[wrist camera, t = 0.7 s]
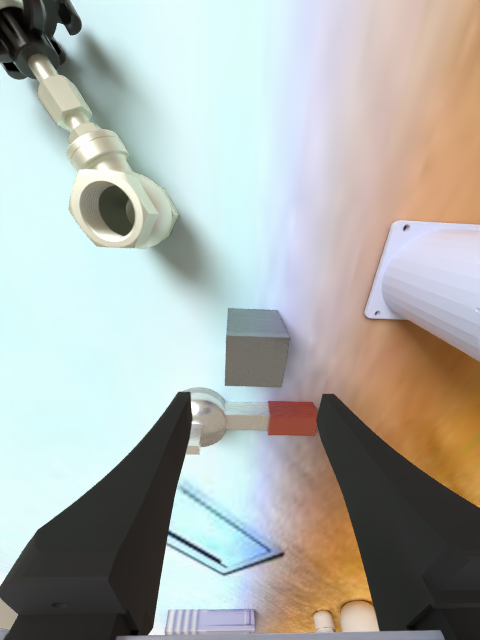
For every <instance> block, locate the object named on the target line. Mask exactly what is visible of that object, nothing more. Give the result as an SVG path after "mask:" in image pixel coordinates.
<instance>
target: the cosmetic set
mask: <svg viewBox="0 0 480 640" xmlns="http://www.w3.org/2000/svg"><path fill="white" fill-rule="evenodd" d="M314 623H315V628H316V632H336V631H335V627H334V623H333V619H332V615H331V614H330V612H328V611H325V610H322V611H317V612H315V614H314ZM340 623H341V628H342V632H373V631H379V627H378V623H377V618H376V614H375V610H374V607H373V606H372V605H371V604H369V603H368V602H365V601H361V600H357V601H351V602H348V603H346V604H345V605H344V606H343V608H342V610H341V613H340Z"/></svg>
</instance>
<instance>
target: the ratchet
mask: <svg viewBox="0 0 480 640" xmlns="http://www.w3.org/2000/svg"><path fill="white" fill-rule="evenodd" d="M183 392H191V404H192V417H193V420H192V427H191V433H190V439H189V443H188V447H187V450H186V454H200V447H206V446H210V445H212V444H215V443H217V442H218V441H219V440H221V439H222V437H223V436H224V434H225V432H226V430H268V435H300V436H314V435H315V432H316V428H317V422H316V419H317V415H318V414H317V412H316V410H315V407H314V405H313V402H283V401H268V403H267V402H225V400H224V398H223V397H222V396H221V395H220V394H218V393H217V392H215V391H213V390H211V389H207V388H191V389H187V390H185V391H183Z"/></svg>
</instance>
